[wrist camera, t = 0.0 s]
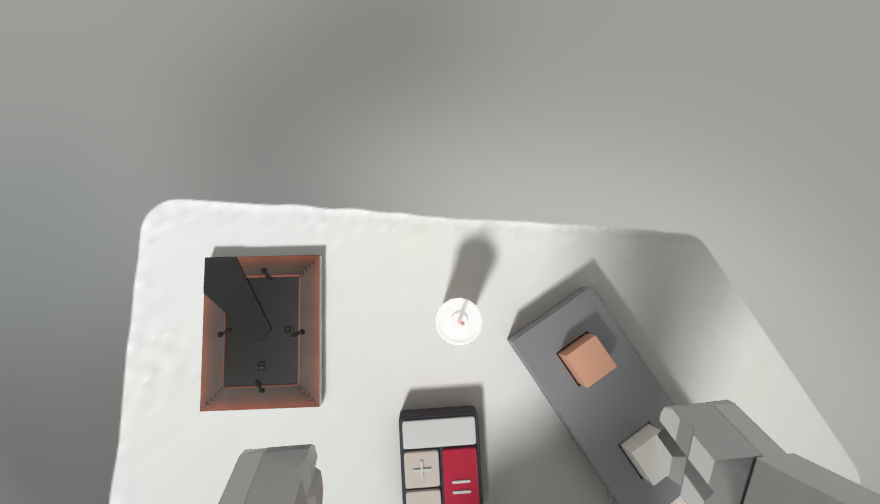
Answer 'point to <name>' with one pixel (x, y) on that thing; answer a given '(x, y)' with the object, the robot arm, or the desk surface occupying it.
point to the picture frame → (262, 333)
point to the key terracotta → (586, 359)
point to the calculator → (440, 456)
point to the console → (598, 393)
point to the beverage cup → (458, 321)
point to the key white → (644, 453)
